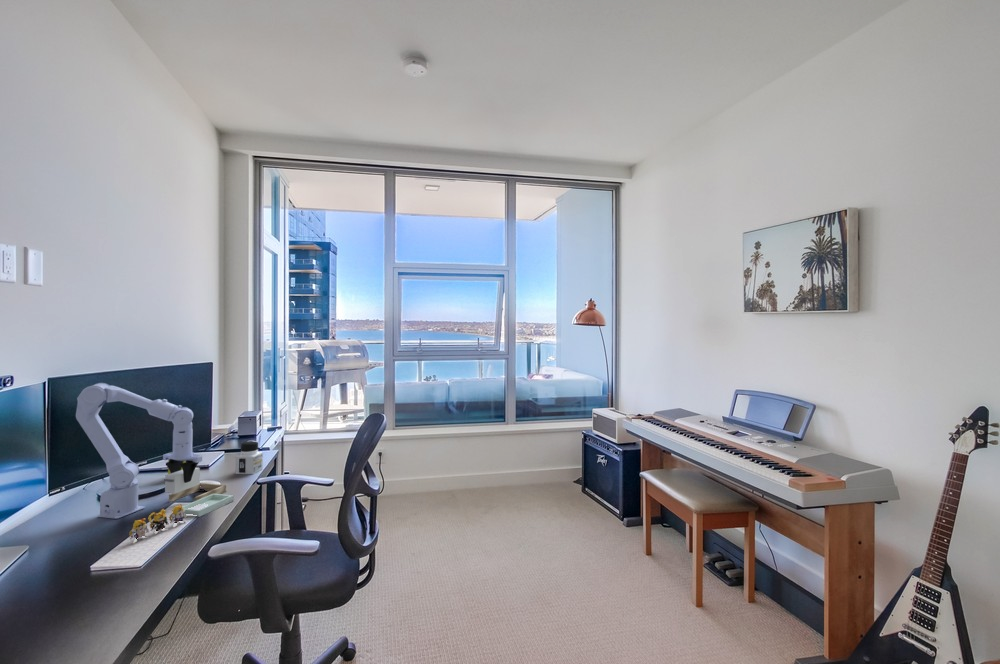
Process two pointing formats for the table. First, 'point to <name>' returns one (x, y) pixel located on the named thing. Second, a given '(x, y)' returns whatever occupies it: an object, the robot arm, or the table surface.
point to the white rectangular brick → (180, 481)
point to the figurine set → (157, 521)
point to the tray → (212, 501)
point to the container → (249, 458)
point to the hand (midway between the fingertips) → (182, 481)
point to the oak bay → (207, 487)
